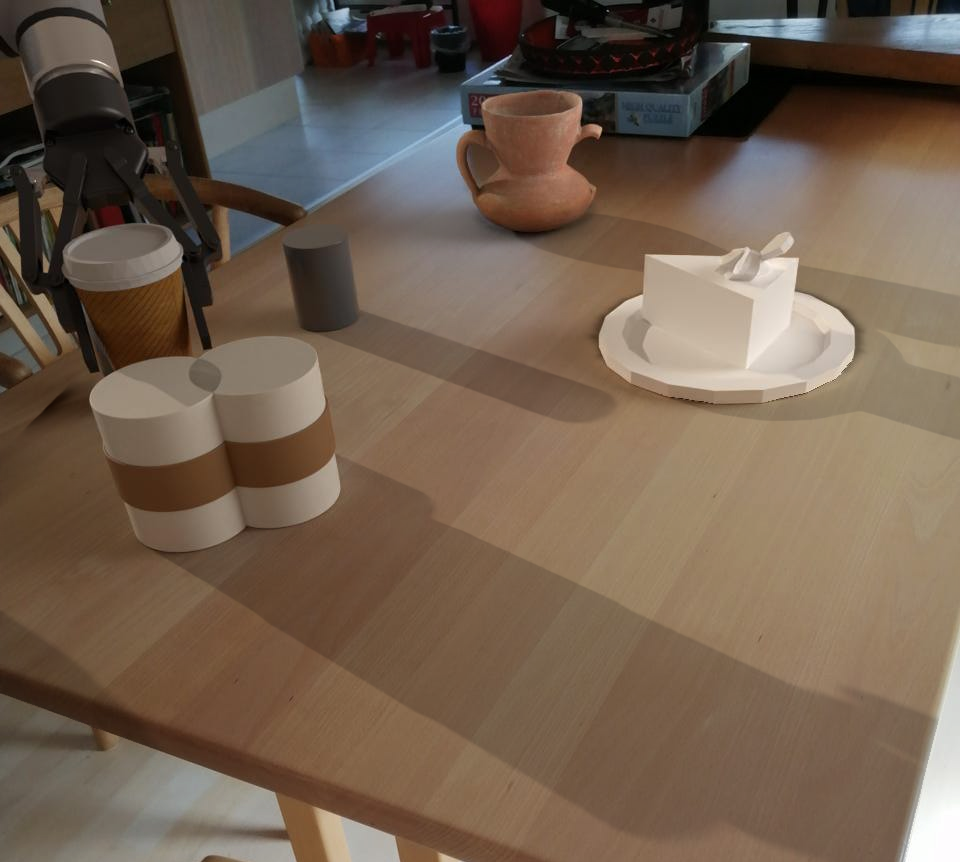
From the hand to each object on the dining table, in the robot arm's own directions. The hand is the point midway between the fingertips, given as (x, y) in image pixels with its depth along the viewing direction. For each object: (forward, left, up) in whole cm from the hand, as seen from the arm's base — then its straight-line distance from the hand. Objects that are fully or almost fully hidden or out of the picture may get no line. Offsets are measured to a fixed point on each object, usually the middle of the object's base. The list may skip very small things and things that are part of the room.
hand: (150, 354), depth 85 cm
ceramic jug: (+21, +62, -11) cm, 67 cm away
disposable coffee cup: (-2, +3, -4) cm, 5 cm away
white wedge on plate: (+46, +28, -11) cm, 56 cm away
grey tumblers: (-3, +23, -11) cm, 26 cm away
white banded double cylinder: (+7, -5, -11) cm, 14 cm away
